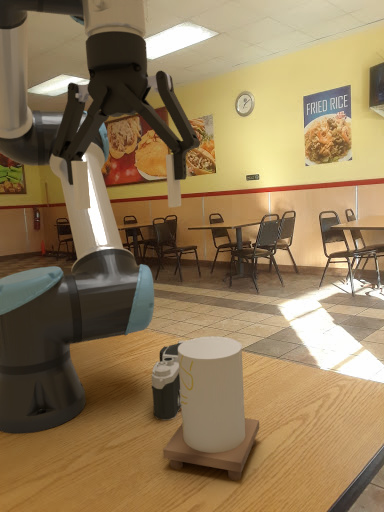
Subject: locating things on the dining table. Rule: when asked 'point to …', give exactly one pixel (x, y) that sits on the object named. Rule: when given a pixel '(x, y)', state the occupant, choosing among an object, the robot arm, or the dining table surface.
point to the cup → (212, 393)
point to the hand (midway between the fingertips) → (127, 208)
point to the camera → (167, 383)
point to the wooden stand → (223, 460)
